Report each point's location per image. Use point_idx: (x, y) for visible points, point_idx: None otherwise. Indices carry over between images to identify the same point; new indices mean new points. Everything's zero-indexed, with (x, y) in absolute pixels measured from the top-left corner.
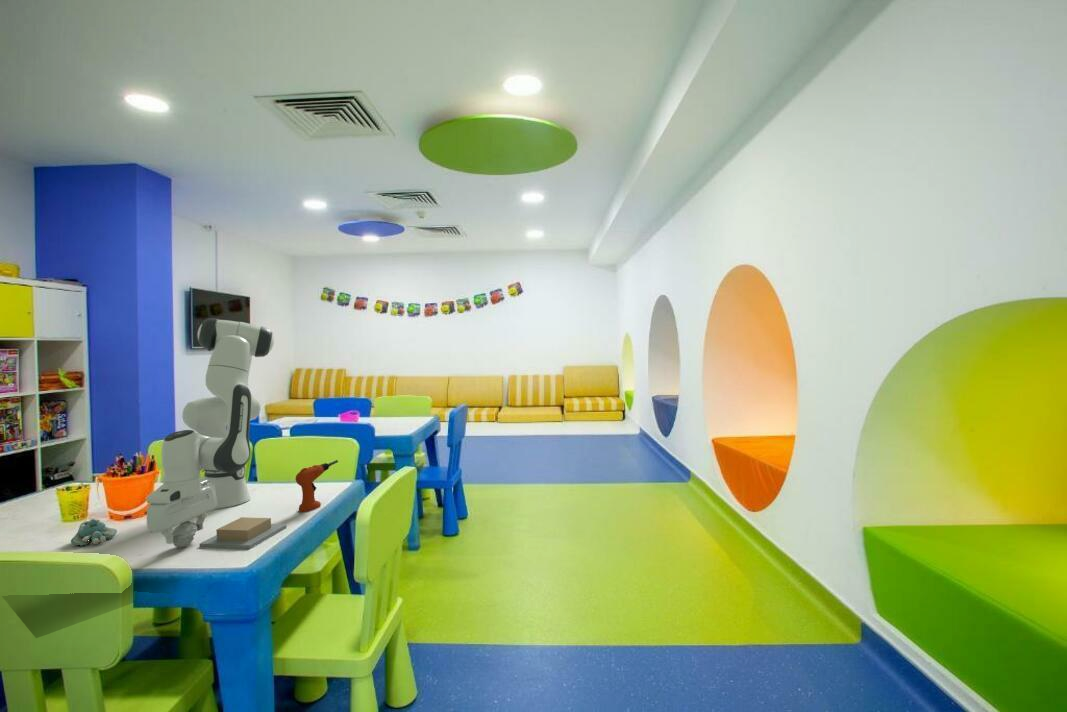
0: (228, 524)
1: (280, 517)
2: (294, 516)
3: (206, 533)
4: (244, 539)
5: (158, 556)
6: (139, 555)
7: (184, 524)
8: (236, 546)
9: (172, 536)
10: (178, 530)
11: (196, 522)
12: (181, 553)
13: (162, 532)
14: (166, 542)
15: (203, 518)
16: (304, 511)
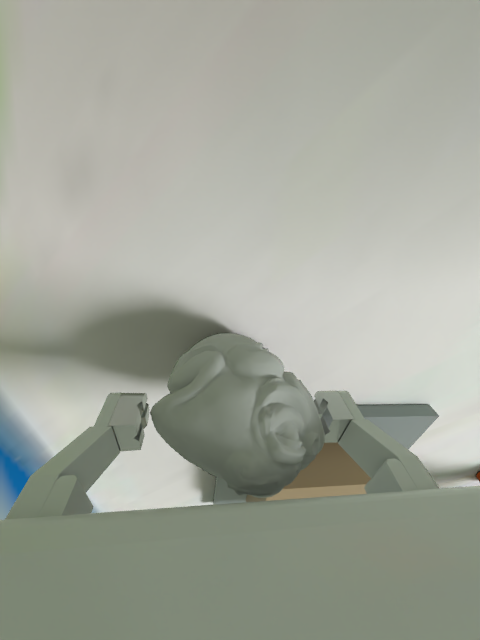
0: (326, 490)
1: (461, 452)
2: (447, 472)
3: (393, 335)
4: (247, 499)
5: (98, 324)
6: (64, 184)
7: (228, 487)
8: (215, 490)
9: (110, 456)
10: (183, 453)
11: (359, 427)
12: (155, 389)
13: (33, 482)
14: (108, 397)
15: (368, 474)
16: (477, 475)
